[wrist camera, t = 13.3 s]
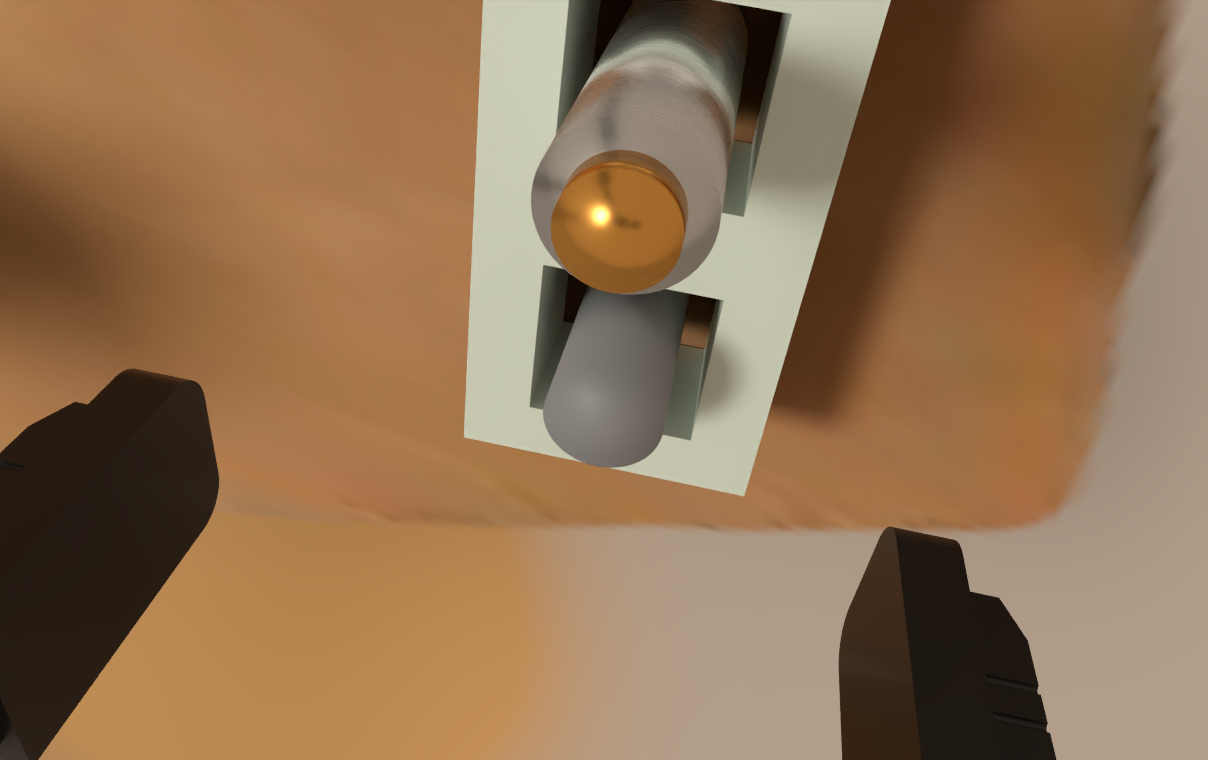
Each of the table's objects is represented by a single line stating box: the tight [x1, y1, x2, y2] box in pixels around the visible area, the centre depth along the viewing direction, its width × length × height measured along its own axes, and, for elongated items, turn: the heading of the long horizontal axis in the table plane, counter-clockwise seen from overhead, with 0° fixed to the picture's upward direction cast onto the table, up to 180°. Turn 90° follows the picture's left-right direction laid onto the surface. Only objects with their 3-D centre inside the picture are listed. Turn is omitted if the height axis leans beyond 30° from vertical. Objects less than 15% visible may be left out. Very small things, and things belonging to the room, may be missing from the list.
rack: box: [464, 0, 891, 496], centre depth 25 cm, size 16×9×8 cm, turn 173°
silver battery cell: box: [531, 0, 748, 295], centre depth 21 cm, size 4×4×12 cm
